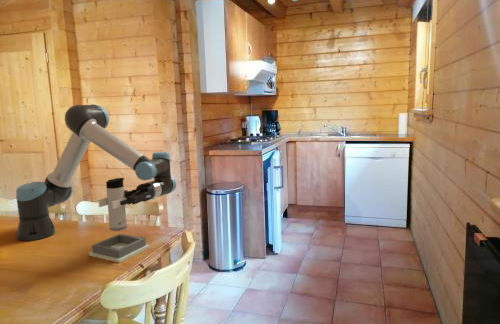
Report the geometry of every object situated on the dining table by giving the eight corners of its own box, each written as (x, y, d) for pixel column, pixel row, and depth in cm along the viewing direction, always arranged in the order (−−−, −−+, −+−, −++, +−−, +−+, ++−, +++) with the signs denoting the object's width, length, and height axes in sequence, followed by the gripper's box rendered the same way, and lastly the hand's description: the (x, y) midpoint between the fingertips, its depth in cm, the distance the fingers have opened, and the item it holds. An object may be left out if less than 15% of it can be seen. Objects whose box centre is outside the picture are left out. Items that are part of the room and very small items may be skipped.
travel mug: (124, 231, 142) (120, 179, 139) (107, 231, 142) (102, 180, 139) (129, 225, 148) (126, 176, 145) (113, 225, 148) (109, 176, 145)
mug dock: (88, 255, 143) (88, 245, 143) (120, 241, 157) (119, 232, 157) (119, 262, 136) (118, 252, 135) (149, 247, 150) (148, 237, 150)
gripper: (166, 201, 156) (125, 216, 135) (132, 197, 164) (88, 211, 144) (165, 184, 155) (124, 196, 134) (130, 181, 163) (87, 192, 143)
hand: (106, 204), depth 139 cm, fingers closed on travel mug, 6 cm apart
